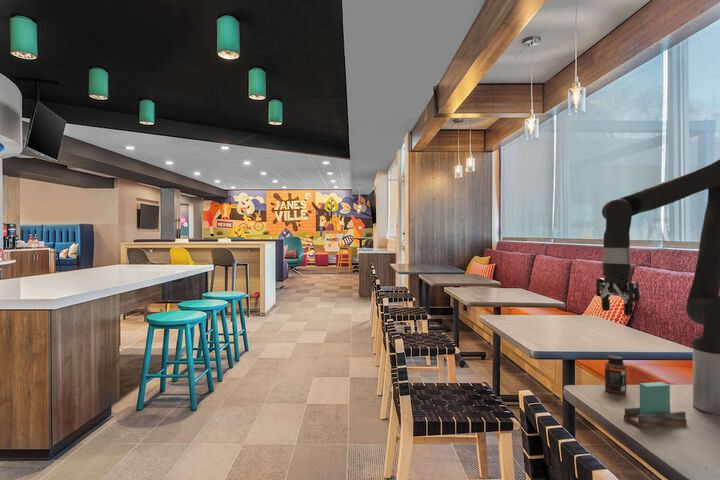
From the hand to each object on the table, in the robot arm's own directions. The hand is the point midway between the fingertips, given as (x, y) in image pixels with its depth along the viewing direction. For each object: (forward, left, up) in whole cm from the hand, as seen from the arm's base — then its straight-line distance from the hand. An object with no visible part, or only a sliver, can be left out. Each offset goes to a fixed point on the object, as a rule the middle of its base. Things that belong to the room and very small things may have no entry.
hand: (616, 312), depth 126 cm
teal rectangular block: (+5, +18, -25) cm, 31 cm away
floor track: (+5, +18, -26) cm, 32 cm away
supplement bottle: (-2, -3, -27) cm, 27 cm away
